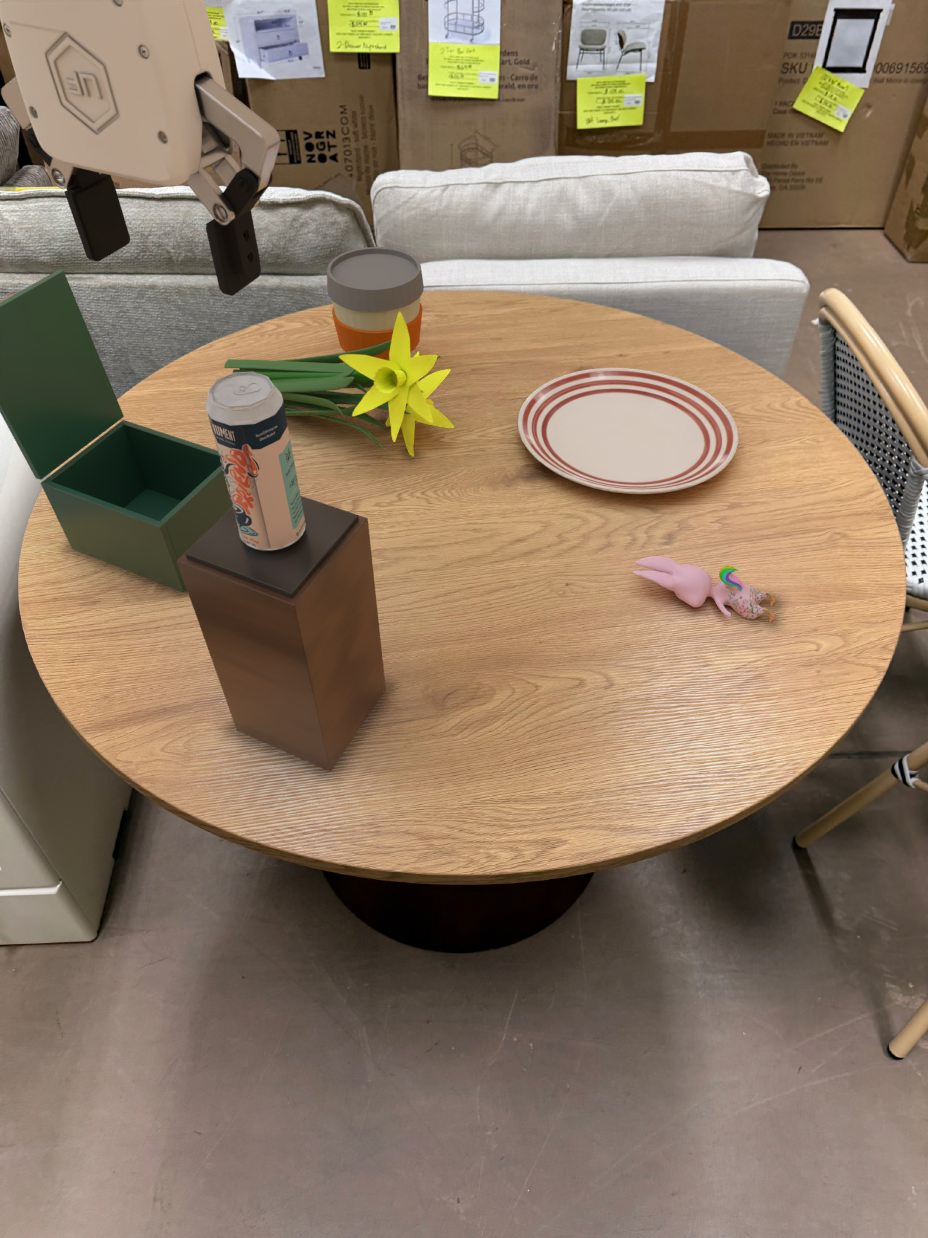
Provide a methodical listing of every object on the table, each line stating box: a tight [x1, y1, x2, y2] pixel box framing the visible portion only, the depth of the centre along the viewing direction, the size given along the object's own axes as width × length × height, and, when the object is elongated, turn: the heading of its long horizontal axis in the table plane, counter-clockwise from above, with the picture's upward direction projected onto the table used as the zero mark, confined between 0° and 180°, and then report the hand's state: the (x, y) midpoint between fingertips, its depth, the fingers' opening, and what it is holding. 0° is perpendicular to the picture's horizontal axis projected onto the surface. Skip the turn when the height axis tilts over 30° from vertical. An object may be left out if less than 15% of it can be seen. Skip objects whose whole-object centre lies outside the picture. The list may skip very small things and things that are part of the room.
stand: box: [177, 495, 387, 772], centre depth 68 cm, size 10×10×22 cm
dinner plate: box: [517, 367, 740, 495], centre depth 103 cm, size 28×27×3 cm
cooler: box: [40, 419, 232, 593], centre depth 88 cm, size 15×12×10 cm
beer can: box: [205, 372, 306, 550], centre depth 55 cm, size 5×5×12 cm
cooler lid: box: [0, 269, 125, 481], centre depth 81 cm, size 16×12×5 cm
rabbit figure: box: [632, 555, 779, 624], centre depth 84 cm, size 6×6×15 cm
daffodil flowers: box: [223, 311, 455, 458], centre depth 100 cm, size 17×15×35 cm
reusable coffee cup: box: [326, 246, 425, 361], centre depth 109 cm, size 13×13×15 cm
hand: (174, 267), depth 48 cm, fingers open, 9 cm apart
